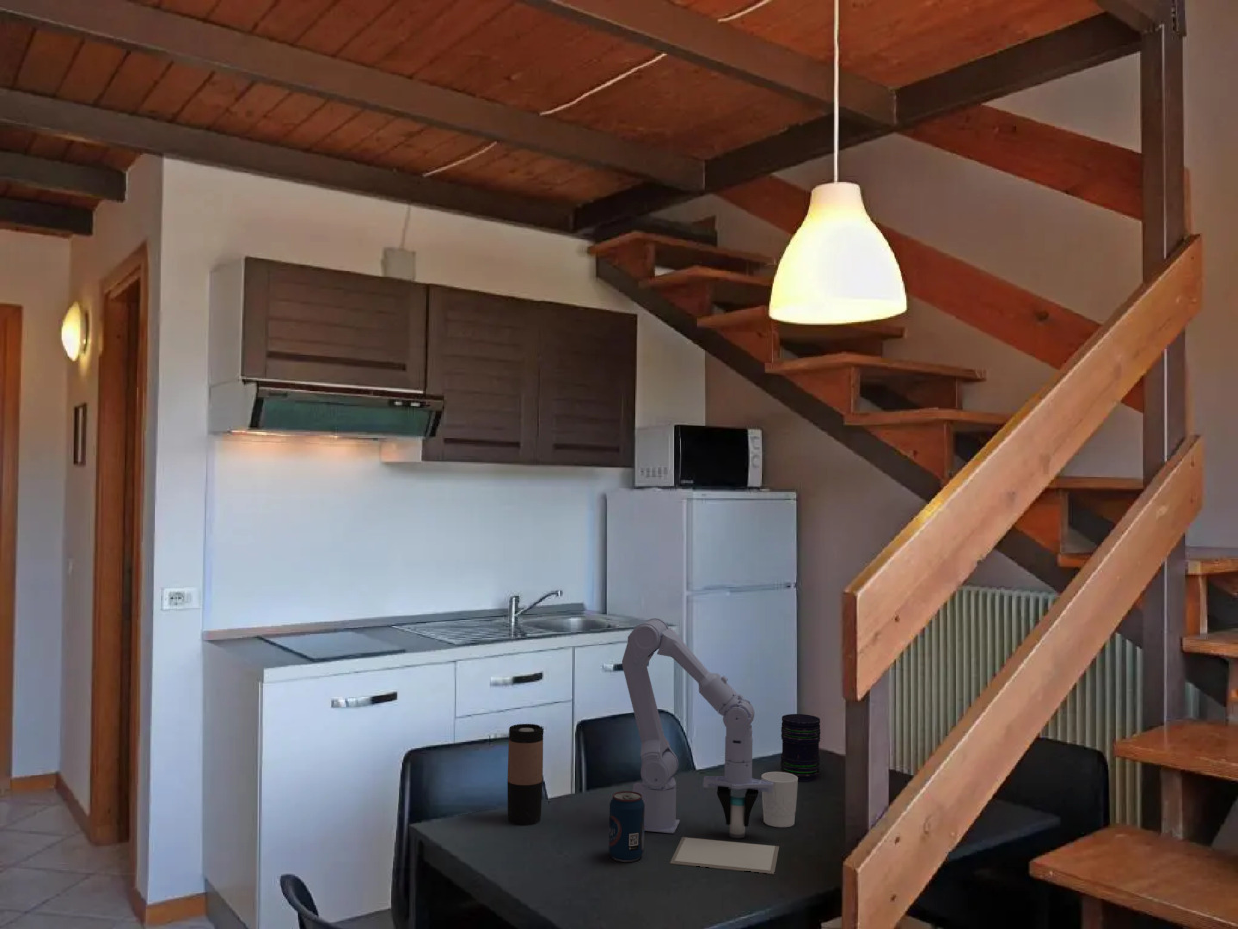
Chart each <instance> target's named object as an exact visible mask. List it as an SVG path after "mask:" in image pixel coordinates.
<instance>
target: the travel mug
mask: <svg viewBox="0 0 1238 929" xmlns="http://www.w3.org/2000/svg"><path fill="white" fill-rule="evenodd" d="M507 751H508V752H507V753H508V754H507V755H508V756H507V779H506V780H507V783H506V784H507V821H508V822H509V824H512V825H515V826H533V825H536V824H538V823H540V821H541V817H542V816H541V815H542V802H543V799H542V798H543V782H544V781H543V780H544V779H543V777H544V776H543V774H544V769H543V768H544V728H542V727H541V725H539V724H535V723H534V724H533V723H518V724H513V725H510V726H509V728H508V750H507Z"/></svg>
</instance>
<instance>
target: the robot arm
mask: <svg viewBox="0 0 1238 929" xmlns="http://www.w3.org/2000/svg"><path fill="white" fill-rule="evenodd" d="M655 652H657V653H656V655H659V656H664V657H670V658H672V659H673V660H674V661H675V662H676V663H677V664H678V665H679V666H680V667H681V668H682V669H684V671H686V672H687V674H688V675H689V676H690V677H691V678H693V680H695V682H696V683H697V684H698V692H699V694H700V695H701V697H703V698H704V699H705V700H706V702H707V703H709V705H710V706H711V707H712V708H713V709H714V710H715V711H716V712H717V714H719V715H721V716H722V721H723V725H724V727H725V733H726V734H725V738H724V739H725V740H724V742H725V743H724V746H725V747H724V776H722V775H720V776H719V775H717V776H716V775H715V776H710V775H705V776H703V782H702V783H703V784H702V785H703V786H702V788H705V789H708V788H716V789H717V790H716V794H717V798H718V800H719V802H720V805H721V807H722V809H723V814H724V817H725V823H726V824H725V825H726V826H727V825H728V826H730V796H732V795H731V794H732V790H739V791H746V792H745V794H744V797H745V821H744V826H745V828H747V827H749V823H750V816H751V813H752V810H753V807H754V804H755V803H756V800H757V798H758V795H759V792H761V793H762V792H767V793H773V782H770V781H763V780H762V779H757V778H754V777H753V740H754V739H753V724H752V722H753V721H754V719H755V710H754V707H753V705H752V703H751V702H750V701H749V700H748V699H745V698H744V696H743V694H741V693H739V694H738V693H737V692H736V691H735V690H734V689H733V687H731V685H730V684H729V683H728V678H727V677H726V676H725V675H722V676H721V674H719V673H717V672H716V673H715V672H714V673H713V672H709V670H708V669H707V668H706V667H705V665H704V664H703V663H702V662H701V660H699V659H698V657H697V656H696V655H695V653H694V652H693V651H692V650H691V649H690V648H689V646H687V645H686V643H685V642H684V641H683V639H681V638H680V636H679V635H678V634H677V632H676V631H675V630H673V628H671V627H669V626H668V624H667V623H666V622H665V621H664V620H663V619H660V618H657V617H655V618H650V619H647V620H646V621H645V622H641V623H639V624H638V625H636V626H635V627H634V628H633V630H631V632H630V633H629V634H628V636H627V643H626V646H625V649H624V653H623V657H622V660H621V664H622V665H621V666H622V669H623V674H624V677H625V678H624V679H625V682H626V686H627V690H628V694H629V698H630V701H631V706H632V710H633V713H634V715H633V716H634V717H635V722H636V726H637V729H638V734H639V738H640V741H641V748H640V758H641V759H640V760H641V768H640V776H641V780H642V782H635V783H633V787H632V791H633V792H637V793H640V794H641V795H642V800H643V802H644V804H645V816H644V832H655V833H656V832H657V833H664V834H675V832H676V830H677V828H678V826H679V824H680V821H681V820H680V819H676V818H677V817H676V815H677V814H676V812H677V811H676V810H677V808H676V807H677V781H676V779H675V778H674V775H675V774H676V773H677V771H678V769H679V759H678V757H677V755H676V754H675V753H674V751H673V749H672V748H671V745H670V742H669V741H668V739H667V738H666V736H665V735H664V729H663V725H662V721H661V718H660V714H659V711H658V705H657V702H656V698H655V694H654V689H653V686H652V682H651V678H650V674H649V671H648V666H647V665H648V663H649V662H650V660H651V659H652V658H653V656H654V654H655ZM751 724H752V725H751Z"/></svg>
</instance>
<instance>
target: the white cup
mask: <svg viewBox="0 0 1238 929" xmlns="http://www.w3.org/2000/svg"><path fill="white" fill-rule="evenodd" d="M761 780H763V781H770V782H773V793H767V792H761V799H762V800H761V801H762V804H761V805H762V810H763V815H762V816H763V823H765V824H766V825H767V826H770V827H775V828H790V827H793V826H794V825H795V817H796V811H797V799H798V786H799V785H798V783H799V782H798V777H797V776H795V775H793V774H790V773H785V772H782V771H768V772H765V773H762V774H761Z"/></svg>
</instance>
